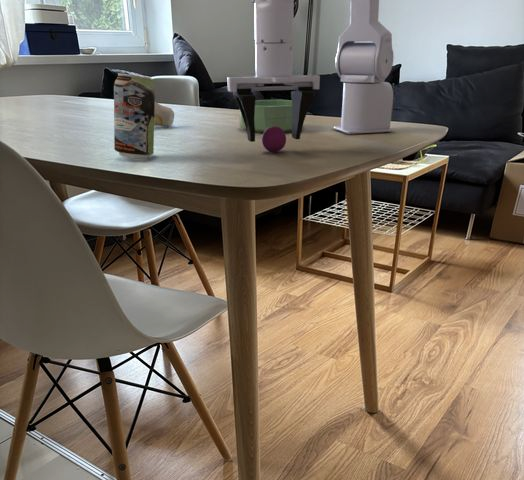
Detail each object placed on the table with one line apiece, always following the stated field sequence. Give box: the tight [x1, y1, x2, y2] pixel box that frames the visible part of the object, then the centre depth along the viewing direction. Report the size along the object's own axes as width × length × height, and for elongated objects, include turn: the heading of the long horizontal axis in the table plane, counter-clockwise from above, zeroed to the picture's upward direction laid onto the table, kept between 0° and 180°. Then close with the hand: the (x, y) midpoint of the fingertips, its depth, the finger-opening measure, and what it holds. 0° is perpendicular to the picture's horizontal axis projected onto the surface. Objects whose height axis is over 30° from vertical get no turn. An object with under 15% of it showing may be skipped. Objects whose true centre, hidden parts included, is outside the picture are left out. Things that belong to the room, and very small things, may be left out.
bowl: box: [238, 99, 293, 134], centre depth 107 cm, size 13×13×5 cm
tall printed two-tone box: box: [113, 72, 156, 159], centre depth 79 cm, size 6×7×12 cm
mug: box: [154, 101, 175, 128], centre depth 110 cm, size 8×10×10 cm
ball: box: [261, 126, 287, 153], centre depth 84 cm, size 4×4×4 cm
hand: (273, 139), depth 84 cm, fingers open, 7 cm apart
